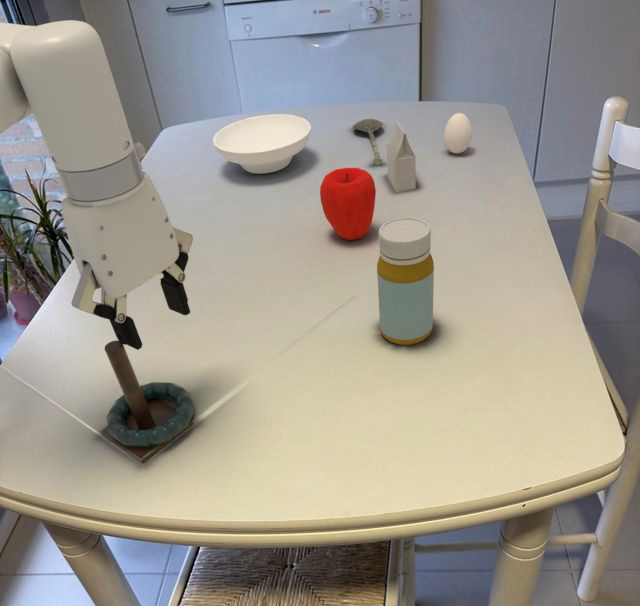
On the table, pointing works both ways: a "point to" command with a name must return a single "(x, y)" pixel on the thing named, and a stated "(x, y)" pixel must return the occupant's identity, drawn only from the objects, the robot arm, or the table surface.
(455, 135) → the egg
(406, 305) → the bottle
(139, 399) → the peg stand
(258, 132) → the bowl
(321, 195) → the apple
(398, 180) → the milk carton
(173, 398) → the ring
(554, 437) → the table surface
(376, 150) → the soupspoon
